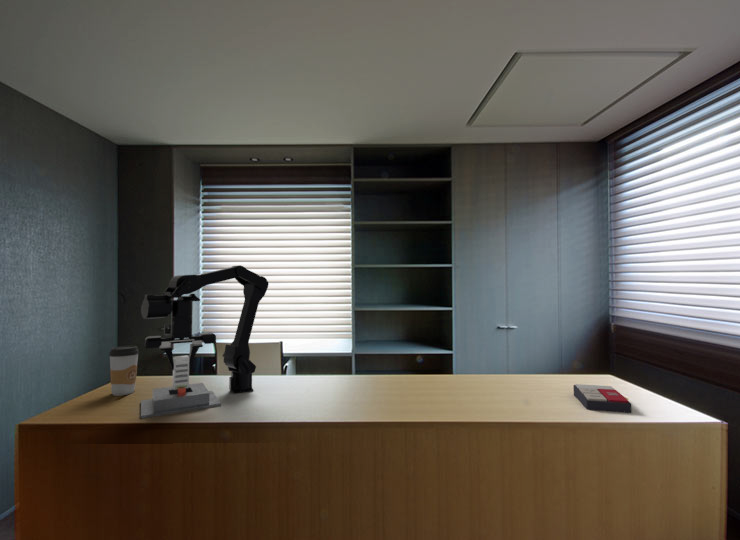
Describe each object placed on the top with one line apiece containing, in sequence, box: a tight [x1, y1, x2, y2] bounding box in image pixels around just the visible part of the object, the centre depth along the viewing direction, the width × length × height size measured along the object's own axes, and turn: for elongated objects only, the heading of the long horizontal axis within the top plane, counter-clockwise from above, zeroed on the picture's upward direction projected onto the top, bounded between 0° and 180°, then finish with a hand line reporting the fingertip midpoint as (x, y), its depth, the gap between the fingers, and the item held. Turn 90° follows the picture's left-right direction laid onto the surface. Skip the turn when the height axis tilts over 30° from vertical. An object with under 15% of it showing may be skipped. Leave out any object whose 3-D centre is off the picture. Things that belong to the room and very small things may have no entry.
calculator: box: [573, 383, 632, 414], centre depth 110 cm, size 11×4×15 cm
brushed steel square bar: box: [172, 354, 190, 390], centre depth 111 cm, size 4×4×9 cm
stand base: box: [140, 382, 222, 420], centre depth 111 cm, size 20×16×6 cm
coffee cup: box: [108, 345, 140, 397], centre depth 123 cm, size 8×8×15 cm
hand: (180, 369), depth 111 cm, fingers closed on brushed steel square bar, 4 cm apart
